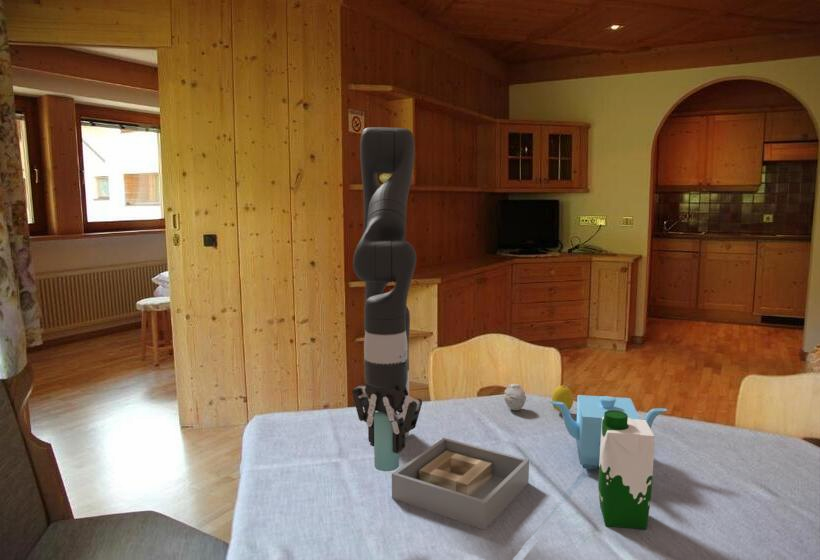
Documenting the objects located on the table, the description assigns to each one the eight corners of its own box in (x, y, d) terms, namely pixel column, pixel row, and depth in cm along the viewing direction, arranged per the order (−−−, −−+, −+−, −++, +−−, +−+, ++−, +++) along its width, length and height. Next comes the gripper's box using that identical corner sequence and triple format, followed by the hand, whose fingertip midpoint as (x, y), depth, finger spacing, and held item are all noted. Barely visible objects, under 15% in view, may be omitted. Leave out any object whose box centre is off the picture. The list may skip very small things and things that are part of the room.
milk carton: (594, 503, 116) (599, 404, 113) (643, 507, 114) (649, 407, 111) (600, 528, 107) (605, 422, 104) (653, 533, 106) (660, 426, 103)
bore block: (419, 484, 122) (419, 470, 121) (446, 463, 131) (446, 450, 130) (467, 499, 116) (467, 484, 115) (491, 476, 125) (492, 462, 124)
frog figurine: (520, 404, 169) (521, 380, 168) (529, 413, 162) (530, 388, 161) (500, 405, 168) (500, 381, 167) (508, 414, 161) (509, 389, 160)
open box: (391, 502, 116) (391, 473, 115) (443, 463, 133) (443, 437, 132) (484, 534, 105) (485, 503, 104) (528, 487, 122) (529, 459, 121)
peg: (369, 467, 106) (368, 413, 104) (384, 457, 110) (383, 405, 108) (389, 473, 104) (389, 419, 102) (403, 463, 107) (403, 411, 106)
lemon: (573, 418, 158) (574, 389, 157) (551, 416, 160) (552, 388, 158) (571, 410, 164) (572, 382, 163) (551, 409, 165) (552, 381, 164)
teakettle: (598, 437, 146) (601, 379, 144) (668, 466, 131) (672, 402, 129) (544, 456, 136) (545, 395, 134) (612, 490, 121) (616, 421, 118)
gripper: (340, 354, 104) (342, 446, 107) (408, 368, 96) (408, 467, 99) (366, 344, 110) (367, 431, 113) (432, 356, 103) (432, 450, 105)
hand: (386, 447), depth 106 cm, fingers closed on peg, 4 cm apart
